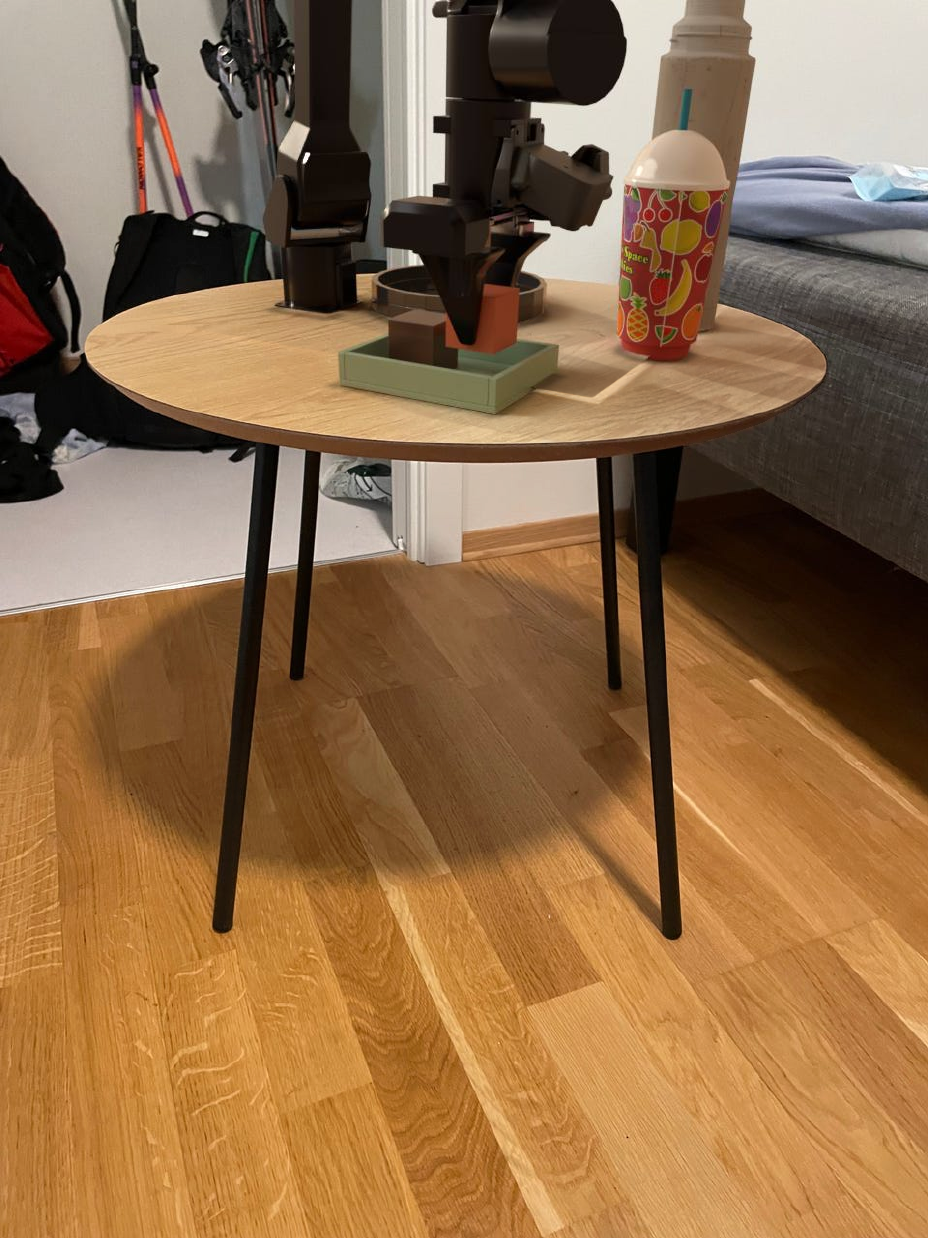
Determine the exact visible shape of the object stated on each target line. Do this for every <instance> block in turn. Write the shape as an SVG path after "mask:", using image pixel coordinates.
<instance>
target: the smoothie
mask: <svg viewBox="0 0 928 1238" xmlns="http://www.w3.org/2000/svg"><path fill="white" fill-rule="evenodd" d="M692 90H693V89H684V93H683V100H682V108H681V116H680V124H679V129H674V130H671V131H668V132H665V133H663V134H661V135H659V136H657V137H655V138H654V139H653V140H652V139H651V140H650V141H648V143H646V144H645V146H644V147H643V148H641V149H640V151H639V153H638V154H637V155H636V157H635V159H634V161H633V163H632V165H631V167H630V169H629V172H628V173H627V174H626V175H625V176H624V177H623V180H622V181H623V184H624V186H623V197H622V198H623V202H622V222H621V239H620V240H621V243H620V265H619V284H618V304H617V305H618V307H617V324H616V325H617V329H616V336H617V337H618V338H619V339H620V342H621V343H620V344H621V347H622V349H623V350H624V351H627V352H629V353H633V354H636V355H641V356H642V355H643V356H648V357H646V358H645V360H646V361H656V362H667V361H668V362H669V361H678V360H681V359H683V358H685V357H687V356H688V355H689V352H690V349H691V345H692V344H694V343H696V342H697V339H698V335H699V332H698V330H699V325H700V321H701V316H702V311H703V306H704V302H705V297H706V292H707V288H708V283H709V278H710V273H711V269H712V264H713V259H714V254H715V250H716V245H717V240H718V235H719V231H720V226H721V221H722V217H723V212H724V207H725V202H726V197H727V191H728V189H729V186H730V181H729V180H727V178H726V173H725V168H724V164H723V160H722V158H721V156H720V153H719V151H718V150H717V148H716V147H715V145H714V144H713V143H712V142H711V141H710V140H709V139H707V138H706V137H705V136H703V135H701V134H699V133H698V132H695V131H693V130H687V129H688V121H689V113H690V105H691V98H692Z"/></svg>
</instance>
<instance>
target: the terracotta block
mask: <svg viewBox="0 0 928 1238" xmlns="http://www.w3.org/2000/svg"><path fill="white" fill-rule="evenodd" d="M519 290H520V289H519V288H513V287H506V286H498V285H490V284H484V291H483V298H482V305H481V312H480V320H479V326H478V331H477V336H476V341H475V344H473V345H471V346H470V345H464V344H461V343H460V342H459V340H458V338H457V335H456V333H455V331H454V328H453V326H452V324H451V321H450V319H449V317H448V315H447V312H446V347H450V348H456V349H462V350H469V351H475V352H481V353H487V354H495V353H497V352H499V351H501V350H503V349H505V348H507V347H509V346H511V345H513V344H515V343H517V339H518V328H519V327H518V325H519V324H518V323H519V322H518V308H519Z"/></svg>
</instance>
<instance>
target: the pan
mask: <svg viewBox="0 0 928 1238" xmlns="http://www.w3.org/2000/svg"><path fill="white" fill-rule="evenodd" d="M515 288H519V289H520V290H519V308H518V323H522V322H528V321H530V320H531V321H532V320H533V319H536V318H538V317H540V316H542V314H544V312H545V311H546V307H547V305H546V303H547V290H548V289H547V288H548V283H547V281H546V279H545V278H543V277H542V276H539V275H538V274H535V273H531V272H528V271H525V270H521V272H520V275H519V277H518V280H517V283H516V286H515ZM371 307H372V308H373V309H374V311H375V312H377V313H378V314H380V315H383V316H386V317H388V318H393V317H395V316H398V315H401V314H404V313H406V312H409V311H412V310H415V309H416V310H423V311H429V312H436V313H443V314H446V310H445V308H444V305H443V303H442V301H441V299H440V297H439V294H438V292H437V290H436V288H435V286H434V284H433V282H432V280H431V278H430V276H429V274H428V272H427V270H426V268H425V266H424V265H423V264H414V265H404V266H399V267H398V266H397V267H392V268H388V269H385V270H381V271H378V272H376V273H375V274H373V275H372V277H371Z"/></svg>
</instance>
